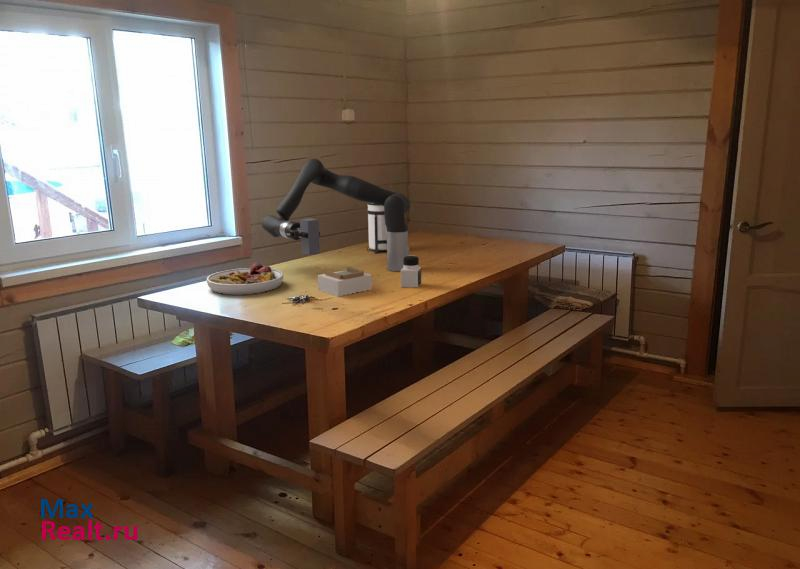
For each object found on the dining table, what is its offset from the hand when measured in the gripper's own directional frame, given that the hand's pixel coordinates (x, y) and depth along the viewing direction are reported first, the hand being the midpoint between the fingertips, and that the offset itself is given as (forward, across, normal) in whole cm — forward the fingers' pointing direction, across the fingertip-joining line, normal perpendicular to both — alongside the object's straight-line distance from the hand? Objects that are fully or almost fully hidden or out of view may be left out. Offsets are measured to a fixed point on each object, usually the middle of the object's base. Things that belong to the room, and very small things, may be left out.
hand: (313, 234), depth 274 cm
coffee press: (-33, +61, +20) cm, 72 cm away
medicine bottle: (+32, +25, +20) cm, 45 cm away
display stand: (+20, +1, +20) cm, 28 cm away
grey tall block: (-3, 0, +8) cm, 8 cm away
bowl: (-11, -26, +20) cm, 35 cm away
